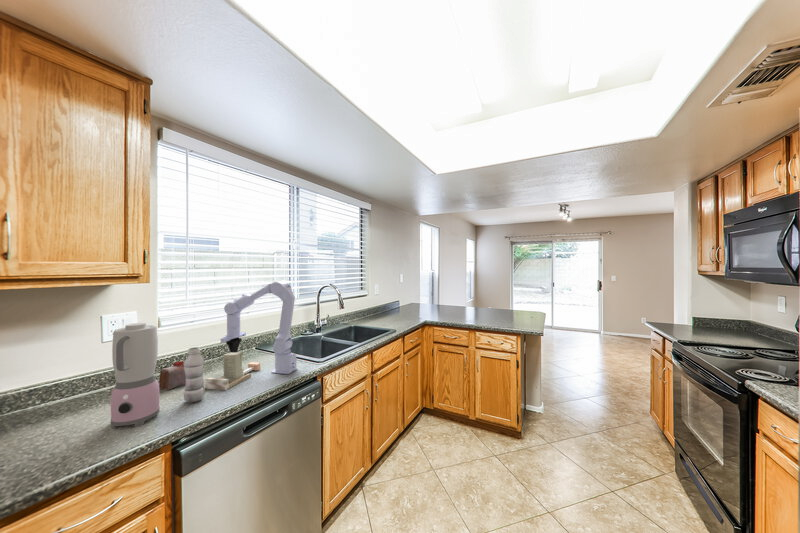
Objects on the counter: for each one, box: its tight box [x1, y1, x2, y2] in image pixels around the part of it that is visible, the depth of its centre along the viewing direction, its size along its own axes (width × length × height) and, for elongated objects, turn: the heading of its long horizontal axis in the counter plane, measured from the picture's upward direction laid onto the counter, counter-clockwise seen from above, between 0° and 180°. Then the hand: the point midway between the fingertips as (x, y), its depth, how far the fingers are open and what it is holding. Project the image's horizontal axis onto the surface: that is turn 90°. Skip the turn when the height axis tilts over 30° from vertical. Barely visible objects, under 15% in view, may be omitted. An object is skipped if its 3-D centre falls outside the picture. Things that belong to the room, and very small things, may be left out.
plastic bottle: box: [183, 346, 205, 404], centre depth 112 cm, size 6×7×20 cm
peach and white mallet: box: [242, 361, 261, 377], centre depth 142 cm, size 5×11×4 cm, turn 168°
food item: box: [158, 361, 186, 391], centre depth 129 cm, size 14×8×10 cm, turn 162°
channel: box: [204, 372, 252, 391], centre depth 131 cm, size 10×15×4 cm, turn 168°
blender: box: [110, 322, 161, 430], centre depth 97 cm, size 16×12×32 cm
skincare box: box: [222, 351, 243, 383], centre depth 133 cm, size 6×4×12 cm
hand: (233, 353), depth 145 cm, fingers closed
